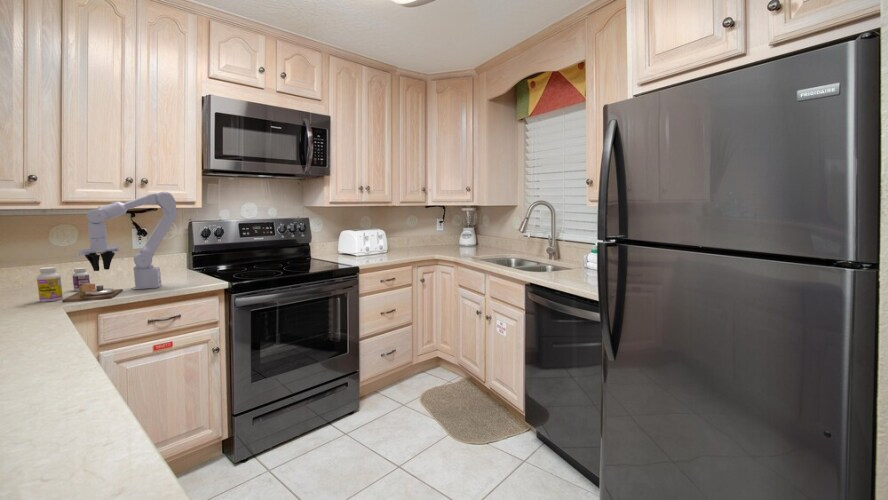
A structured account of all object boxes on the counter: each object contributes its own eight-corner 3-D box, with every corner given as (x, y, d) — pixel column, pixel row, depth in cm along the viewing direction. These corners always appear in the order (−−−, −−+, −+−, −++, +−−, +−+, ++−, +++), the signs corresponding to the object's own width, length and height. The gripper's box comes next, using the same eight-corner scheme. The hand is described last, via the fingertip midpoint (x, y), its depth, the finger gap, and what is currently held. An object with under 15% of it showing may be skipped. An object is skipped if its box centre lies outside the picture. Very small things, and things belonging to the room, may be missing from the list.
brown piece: (122, 291, 176) (121, 278, 175) (111, 298, 162) (110, 284, 162) (78, 294, 170) (76, 281, 169) (62, 302, 156) (61, 288, 155)
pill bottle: (80, 291, 176) (78, 269, 174) (70, 291, 177) (68, 269, 176) (93, 288, 181) (91, 267, 180) (84, 288, 182) (81, 267, 181)
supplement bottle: (35, 303, 156) (31, 269, 154) (44, 299, 162) (40, 267, 160) (58, 301, 158) (54, 268, 157) (66, 297, 164) (62, 266, 163)
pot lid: (120, 291, 170) (119, 283, 169) (96, 296, 161) (95, 287, 161) (97, 289, 173) (97, 281, 173) (73, 294, 164) (72, 286, 164)
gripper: (109, 236, 180) (112, 267, 181) (71, 239, 166) (75, 272, 167) (121, 236, 178) (124, 267, 179) (84, 239, 164) (88, 273, 165)
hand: (101, 270), depth 173 cm, fingers open, 3 cm apart
